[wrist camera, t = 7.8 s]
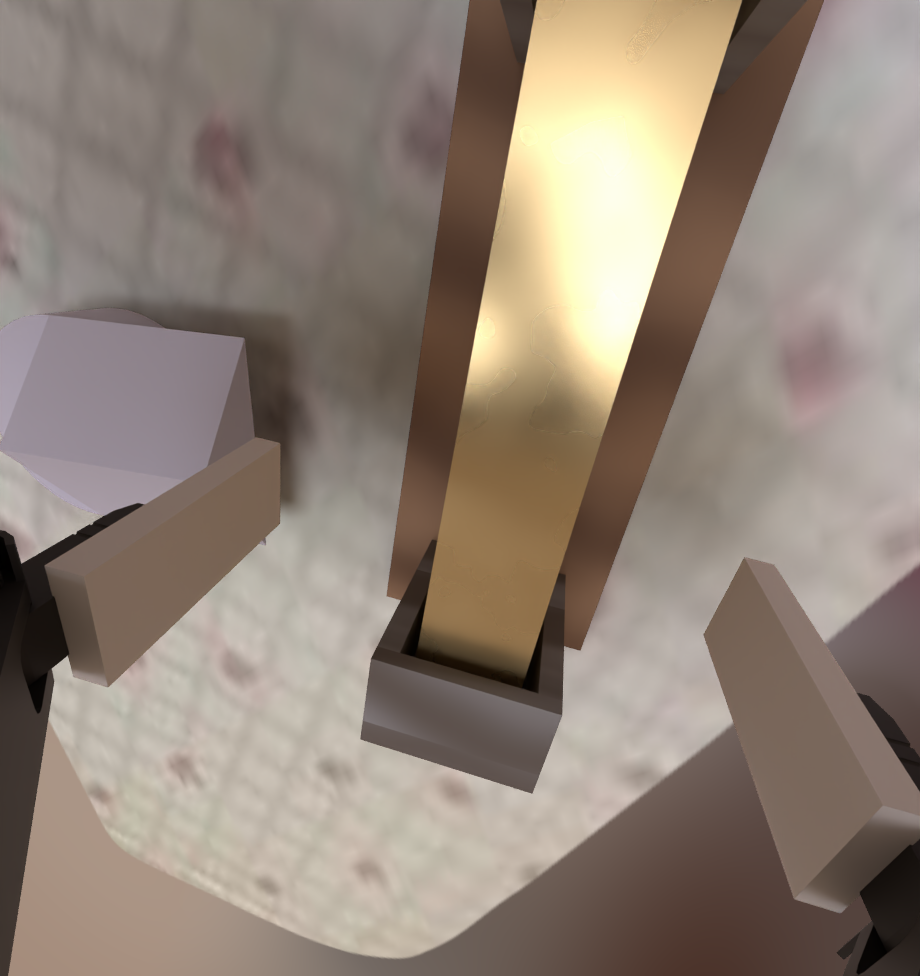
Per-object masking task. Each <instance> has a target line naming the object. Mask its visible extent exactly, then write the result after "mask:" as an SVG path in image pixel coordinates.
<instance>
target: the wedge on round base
mask: <svg viewBox="0 0 920 976" xmlns="http://www.w3.org/2000/svg"><path fill="white" fill-rule="evenodd" d="M0 433H1V435H2V436H3V438H2V441H1V444H0V451H2V452H3V453H5V454H6V455H8V456H9V457H11V458H13V459H14V460H16V461H17V462H19V463H20V464H22V465H23V467H24V468H25V469H26V470H27V471H28V472H29V473H30V474H31V475H32V476H33V477H34V478H35V479H36V480H37V481H38V482H40V483H41V484H42V485H43V486H44V487H45V488H47V489H48V490H49V491H51V492H52V493H53V494H55V495H56V496H58V497H59V498H61V499H63V500H64V501H66V502H68V503H70V504H72V505H74V506H76V507H78V508H80V509H83V510H86V511H88V512H92V513H96V514H100V515H107V514H108V513H110V512H112V511H114V510H117V509H120V508H123V507H127V506H130V505H133V504H136V503H141V504H147V503H148V502H150V501H152V500H153V499H155V498H156V497H158V496H160V495H161V494H163V493H165V492H166V491H168V490H170V489H171V488H173V487H175V486H176V485H178V484H180V483H181V482H183V481H184V480H186V479H188V478H189V477H191V476H193V475H194V474H196V473H198V472H199V471H201V470H203V469H204V468H206V467H208V466H209V465H211V464H212V463H214V462H216V461H217V460H219V459H221V458H222V457H224V456H226V455H227V454H229V453H231V452H232V451H234V450H236V449H237V448H239V447H240V446H242V445H244V444H245V443H247V442H249V441H250V440H252V439H254V438H255V433H254V423H253V414H252V404H251V394H250V385H249V375H248V365H247V356H246V346H245V338H242V337H233V336H225V335H216V334H208V333H199V332H190V331H182V330H173V329H166V328H164V327H163V326H161V325H159V324H158V323H156V322H155V321H153V320H151V319H149V318H147V317H145V316H143V315H141V314H138V313H135V312H132V311H130V310H125V309H119V308H98V309H88V310H78V311H68V312H58V313H47V314H37V315H30V316H24V317H21V318H19V319H16V320H14V321H12V322H10V323H9V324H7V325H6V326H4V327H3V328H2V329H1V330H0ZM259 544H262V545H266V539H265V538H264V539H263V540H262V541H261V542H260V543H259Z"/></svg>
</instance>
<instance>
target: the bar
mask: <svg viewBox="0 0 920 976" xmlns="http://www.w3.org/2000/svg"><path fill="white" fill-rule="evenodd" d="M741 3H742V0H537V3H536V8H535V14H534V19H533V25H532V30H531V35H530V41H529V46H528V52H527V57H526V63H525V68H524V73H523V79H522V84H521V90H520V95H519V101H518V106H517V111H516V117H515V122H514V128H513V133H512V139H511V144H510V149H509V155H508V160H507V166H506V171H505V177H504V182H503V187H502V193H501V198H500V204H499V209H498V215H497V220H496V225H495V231H494V236H493V242H492V247H491V253H490V258H489V263H488V269H487V274H486V280H485V285H484V291H483V296H482V301H481V307H480V312H479V318H478V323H477V329H476V334H475V339H474V345H473V350H472V356H471V361H470V367H469V372H468V377H467V383H466V388H465V394H464V399H463V405H462V410H461V415H460V421H459V426H458V432H457V437H456V443H455V448H454V453H453V459H452V464H451V470H450V475H449V481H448V486H447V491H446V497H445V502H444V508H443V513H442V519H441V524H440V529H439V535H438V540H437V546H436V551H435V557H434V562H433V567H432V573H431V578H430V584H429V589H428V595H427V600H426V605H425V611H424V616H423V622H422V627H421V632H420V638H419V643H418V649H417V654H416V658H419V659H422V660H426V661H429V662H433V663H436V664H439V665H443V666H446V667H450V668H453V669H456V670H460V671H463V672H467V673H470V674H473V675H477V676H480V677H484V678H487V679H490V680H494V681H497V682H501V683H504V684H508V685H511V686H514V687H518V688H521V689H522V686H523V683H524V680H525V676H526V673H527V670H528V667H529V664H530V661H531V658H532V655H533V651H534V648H535V645H536V642H537V639H538V636H539V633H540V630H541V627H542V623H543V620H544V617H545V614H546V611H547V608H548V605H549V602H550V598H551V595H552V592H553V589H554V586H555V583H556V580H557V577H558V573H559V570H560V567H561V564H562V561H563V558H564V555H565V552H566V549H567V545H568V542H569V539H570V536H571V533H572V530H573V527H574V524H575V520H576V517H577V514H578V511H579V508H580V505H581V502H582V499H583V495H584V492H585V489H586V486H587V483H588V480H589V477H590V474H591V471H592V467H593V464H594V461H595V458H596V455H597V452H598V449H599V446H600V442H601V439H602V436H603V433H604V430H605V427H606V424H607V421H608V417H609V414H610V411H611V408H612V405H613V402H614V399H615V396H616V393H617V389H618V386H619V383H620V380H621V377H622V374H623V371H624V368H625V364H626V361H627V358H628V355H629V352H630V349H631V346H632V343H633V339H634V336H635V333H636V330H637V327H638V324H639V321H640V318H641V315H642V311H643V308H644V305H645V302H646V299H647V296H648V293H649V290H650V286H651V283H652V280H653V277H654V274H655V271H656V268H657V265H658V262H659V258H660V255H661V252H662V249H663V246H664V243H665V240H666V237H667V233H668V230H669V227H670V224H671V221H672V218H673V215H674V212H675V208H676V205H677V202H678V199H679V196H680V193H681V190H682V187H683V184H684V180H685V177H686V174H687V171H688V168H689V165H690V162H691V159H692V155H693V152H694V149H695V146H696V143H697V140H698V137H699V134H700V130H701V127H702V124H703V121H704V118H705V115H706V112H707V109H708V106H709V102H710V99H711V96H712V93H713V90H714V87H715V84H716V81H717V77H718V74H719V71H720V68H721V65H722V62H723V59H724V56H725V52H726V49H727V46H728V43H729V40H730V37H731V34H732V31H733V28H734V24H735V21H736V18H737V15H738V12H739V9H740V6H741Z"/></svg>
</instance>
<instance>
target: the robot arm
mask: <svg viewBox="0 0 920 976" xmlns="http://www.w3.org/2000/svg"><path fill="white" fill-rule="evenodd" d="M280 444H281V443H278V442H274V441H270V440H266V439H262V438H258V437H255V438H254V439H252V440H250V441H249V442H247V443H245V444H244V445H242V446H240V447H239V448H237V449H236V450H234V451H232V452H231V453H229V454H227V455H226V456H224V457H222V458H221V459H219V460H217V461H216V462H214V463H212V464H211V465H209V466H208V467H206V468H204V469H203V470H201V471H199V472H198V473H196V474H194V475H193V476H191V477H189V478H188V479H186V480H184V481H183V482H181V483H180V484H178V485H176V486H175V487H173V488H171V489H170V490H168V491H166V492H165V493H163V494H161V495H160V496H158V497H156V498H155V499H153V500H152V501H150V502H148V503H147V504H141V503H136V504H133V505H130V506H127V507H123V508H120V509H117V510H114V511H112V512H110V513H108V514H107V515H105V516H103V517H102V518H100V519H98V520H96V521H95V522H93V525H90V524H89V525H88V526H86V527H84V528H83V529H81V530H79V531H77V534H76V535H74V534H72V535H70V536H69V537H67V538H65V539H64V540H62V541H60V542H58V543H57V544H55V545H53V546H51V547H50V548H48V549H46V550H44V551H43V552H41V553H39V554H38V555H36V556H34V557H32V558H31V559H29V560H27V561H25V562H24V563H22V564H21V561H20V558H19V554H18V551H17V547H16V544H15V540H14V537H13V536H12V535H10V534H9V533H7V532H6V531H2V530H0V976H8V973H9V966H10V960H11V953H12V947H13V941H14V940H13V939H14V934H15V928H16V922H17V915H18V909H19V902H20V896H21V890H22V883H23V877H24V871H25V864H26V857H27V851H28V845H29V838H30V832H31V826H32V820H33V813H34V807H35V800H36V794H37V787H38V781H39V774H40V769H41V762H42V756H43V749H44V743H45V737H46V730H47V723H48V717H49V711H50V705H51V698H52V692H53V686H54V678H53V673H52V668H53V667H54V666H55V665H57V664H58V663H59V662H60V661H62V660H63V659H64V658H65V657H66V656H68V658H69V661H70V665H71V669H72V673H73V677H76V678H79V679H82V680H85V681H89V682H92V683H95V684H98V685H102V686H105V687H109V686H110V685H111V684H112V683H113V682H114V681H115V680H116V679H118V678H119V677H120V676H121V675H122V674H123V673H124V672H125V671H126V670H127V669H128V668H129V667H130V666H131V665H132V664H133V663H134V662H135V661H136V660H137V659H138V658H140V657H141V656H142V655H143V654H144V653H145V652H146V651H147V650H148V649H149V648H150V647H151V646H152V645H153V644H154V643H155V642H156V641H157V640H158V639H159V638H160V637H162V636H163V635H164V634H165V633H166V632H167V631H168V630H169V629H170V628H171V627H172V626H173V625H174V624H175V623H176V622H177V621H178V620H179V619H180V618H181V617H182V616H184V615H185V614H186V613H187V612H188V611H189V610H190V609H191V608H192V607H193V606H194V605H195V604H196V603H197V602H198V601H199V600H200V599H201V598H202V597H203V596H204V595H206V594H207V593H208V592H209V591H210V590H211V589H212V588H213V587H214V586H215V585H216V584H217V583H218V582H219V581H220V580H221V579H222V578H223V577H224V576H225V575H226V574H228V573H229V572H230V571H231V570H232V569H233V568H234V567H235V566H236V565H237V564H238V563H239V562H240V561H241V560H242V559H243V558H244V557H245V556H246V555H247V554H248V553H250V552H251V551H252V550H253V549H254V548H255V547H256V546H257V545H258V544H259V543H260V542H261V541H262V540H263V539H264V538H265V537H266V536H267V535H268V534H269V533H270V532H272V531H273V530H274V529H275V528H276V527H277V526H278V525H279V524H280ZM704 638H705V641H706V643H707V646H708V649H709V652H710V655H711V658H712V661H713V664H714V667H715V670H716V673H717V676H718V678H719V681H720V684H721V687H722V690H723V693H724V696H725V699H726V702H727V705H728V708H729V710H730V713H731V716H732V719H733V722H734V725H735V728H736V731H737V734H738V737H739V740H740V743H741V745H742V748H743V751H744V754H745V757H746V760H747V763H748V766H749V769H750V772H751V774H752V777H753V780H754V783H755V786H756V789H757V792H758V795H759V798H760V801H761V804H762V807H763V810H764V812H765V815H766V818H767V821H768V824H769V827H770V830H771V833H772V836H773V838H774V842H775V844H776V847H777V850H778V853H779V856H780V859H781V862H782V865H783V868H784V871H785V873H786V876H787V879H788V882H789V885H790V888H791V891H792V894H793V897H794V899H796V900H799V901H802V902H806V903H809V904H812V905H815V906H819V907H822V908H825V909H828V910H831V911H835V912H838V913H841V912H843V911H844V909H846V908H847V907H848V906H849V905H850V904H851V903H852V902H853V901H854V900H855V899H856V898H857V897H858V896H860V895H861V897H862V899H863V902H864V904H865V906H866V908H867V911H868V913H869V915H870V917H871V920H872V921H871V922H870V923H869V924H868V925H867V926H865V927H864V928H863V929H862V930H861V931H860V932H859V933H857V934H856V935H855V936H854V937H853V938H852V939H851V940H850V941H849V942H847V943H846V944H845V945H844V946H843V947H842V948H841V949H840V950H839V951H838V952H837V954H838V955H840V957H842V958H843V959H845V958H846V957H848V956H849V955H850V954H851V953H852V955H851V957H850V959H849V962H848V964H847V967H846V969H845V972H844V974H843V976H920V757H919V756H918V754H917V753H916V752H915V750H914V749H913V748H910V743H909V741H908V740H907V738H906V737H905V735H904V734H903V732H902V731H901V730H900V728H899V727H898V725H897V724H896V722H895V721H894V719H893V718H892V717H890V716H889V715H888V714H887V713H886V712H885V711H884V710H883V709H882V708H881V707H880V706H879V705H878V704H877V703H876V702H875V701H874V700H873V699H872V698H871V697H870V696H867V695H863V694H860V693H856V692H855V690H854V688H853V687H852V685H851V684H850V682H849V681H848V679H847V678H846V676H845V674H844V673H843V671H842V670H841V668H840V667H839V665H838V664H837V662H836V660H835V659H834V657H833V656H832V654H831V653H830V651H829V649H828V648H827V646H826V645H825V643H824V642H823V640H822V638H821V637H820V635H819V634H818V632H817V631H816V629H815V628H814V626H813V624H812V623H811V621H810V620H809V618H808V617H807V615H806V614H805V612H804V610H803V609H802V607H801V606H800V604H799V603H798V601H797V599H796V598H795V596H794V595H793V593H792V592H791V590H790V589H789V587H788V585H787V584H786V582H785V581H784V579H783V578H782V576H781V575H780V573H779V571H778V570H777V568H776V567H775V565H773V564H769V563H765V562H761V561H757V560H753V559H749V558H745V557H744V559H743V561H742V563H741V565H740V567H739V569H738V571H737V572H736V574H735V576H734V578H733V580H732V582H731V584H730V586H729V588H728V589H727V591H726V593H725V595H724V597H723V599H722V601H721V603H720V605H719V607H718V608H717V610H716V612H715V614H714V616H713V618H712V620H711V622H710V624H709V625H708V627H707V629H706V631H705V633H704Z"/></svg>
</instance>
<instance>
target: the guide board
mask: <svg viewBox="0 0 920 976" xmlns="http://www.w3.org/2000/svg"><path fill="white" fill-rule="evenodd" d="M823 2H824V0H742V3H741V6H740V9H739V12H738V15H737V18H736V21H735V24H734V28H733V31H732V34H731V37H730V40H729V43H728V46H727V49H726V52H725V56H724V59H723V62H722V65H721V68H720V71H719V74H718V77H717V81H716V84H715V87H714V90H713V93H712V96H711V99H710V102H709V106H708V109H707V112H706V115H705V118H704V121H703V124H702V127H701V130H700V134H699V137H698V140H697V143H696V146H695V149H694V152H693V155H692V159H691V162H690V165H689V168H688V171H687V174H686V177H685V180H684V184H683V187H682V190H681V193H680V196H679V199H678V202H677V205H676V208H675V212H674V215H673V218H672V221H671V224H670V227H669V230H668V233H667V237H666V240H665V243H664V246H663V249H662V252H661V255H660V258H659V262H658V265H657V268H656V271H655V274H654V277H653V280H652V283H651V286H650V290H649V293H648V296H647V299H646V302H645V305H644V308H643V311H642V315H641V318H640V321H639V324H638V327H637V330H636V333H635V336H634V339H633V343H632V346H631V349H630V352H629V355H628V358H627V361H626V364H625V368H624V371H623V374H622V377H621V380H620V383H619V386H618V389H617V393H616V396H615V399H614V402H613V405H612V408H611V411H610V414H609V417H608V421H607V424H606V427H605V430H604V433H603V436H602V439H601V442H600V446H599V449H598V452H597V455H596V458H595V461H594V464H593V467H592V471H591V474H590V477H589V480H588V483H587V486H586V489H585V492H584V495H583V499H582V502H581V505H580V508H579V511H578V514H577V517H576V520H575V524H574V527H573V530H572V533H571V536H570V539H569V542H568V545H567V549H566V552H565V555H564V558H563V561H562V564H561V567H560V570H559V573H558V577H557V580H556V583H555V586H554V589H553V592H552V595H551V598H550V602H549V605H548V608H547V611H546V614H545V617H544V620H543V623H542V627H541V630H540V633H539V636H538V639H537V642H536V645H535V648H534V651H533V655H532V658H531V661H530V664H529V667H528V670H527V673H526V676H525V680H524V683H523V686H522V689H521V688H518V687H514V686H511V685H508V684H504V683H501V682H497V681H494V680H490V679H487V678H484V677H480V676H477V675H473V674H470V673H467V672H463V671H460V670H456V669H453V668H450V667H446V666H443V665H439V664H436V663H433V662H429V661H426V660H422V659H419V658H416V654H417V649H418V643H419V638H420V632H421V627H422V622H423V616H424V611H425V605H426V600H427V595H428V589H429V584H430V578H431V573H432V567H433V562H434V557H435V551H436V546H437V540H438V535H439V529H440V524H441V519H442V513H443V508H444V502H445V497H446V491H447V486H448V481H449V475H450V470H451V464H452V459H453V453H454V448H455V443H456V437H457V432H458V426H459V421H460V415H461V410H462V405H463V399H464V394H465V388H466V383H467V377H468V372H469V367H470V361H471V356H472V350H473V345H474V339H475V334H476V329H477V323H478V318H479V312H480V307H481V301H482V296H483V291H484V285H485V280H486V274H487V269H488V263H489V258H490V253H491V247H492V242H493V236H494V231H495V225H496V220H497V215H498V209H499V204H500V198H501V193H502V187H503V182H504V177H505V171H506V166H507V160H508V155H509V149H510V144H511V139H512V133H513V128H514V122H515V117H516V111H517V106H518V101H519V95H520V90H521V84H522V79H523V73H524V68H525V63H526V57H527V52H528V46H529V41H530V35H531V30H532V25H533V19H534V14H535V8H536V3H537V0H470V2H469V9H468V16H467V24H466V31H465V38H464V45H463V52H462V59H461V67H460V74H459V81H458V88H457V95H456V102H455V110H454V117H453V124H452V131H451V138H450V145H449V153H448V160H447V167H446V174H445V181H444V188H443V196H442V203H441V210H440V217H439V224H438V231H437V238H436V246H435V253H434V260H433V267H432V274H431V281H430V289H429V296H428V303H427V310H426V317H425V324H424V332H423V339H422V346H421V353H420V360H419V367H418V375H417V382H416V389H415V396H414V403H413V410H412V418H411V425H410V432H409V439H408V446H407V453H406V461H405V468H404V475H403V482H402V489H401V496H400V504H399V511H398V518H397V525H396V532H395V539H394V547H393V554H392V561H391V568H390V575H389V582H388V590H387V596H388V597H392V598H395V599H399V600H401V601H400V603H399V605H398V607H397V609H396V611H395V613H394V615H393V617H392V619H391V621H390V623H389V625H388V626H387V628H386V630H385V632H384V634H383V636H382V638H381V640H380V642H379V644H378V646H377V648H376V650H375V652H374V654H373V656H372V658H371V663H370V670H369V678H368V686H367V693H366V701H365V708H364V716H363V724H362V731H361V740H364V741H367V742H371V743H374V744H377V745H380V746H383V747H386V748H389V749H393V750H396V751H399V752H402V753H405V754H408V755H412V756H415V757H418V758H421V759H424V760H427V761H431V762H434V763H437V764H440V765H443V766H446V767H450V768H453V769H456V770H459V771H462V772H465V773H469V774H472V775H475V776H478V777H481V778H484V779H488V780H491V781H494V782H497V783H500V784H503V785H507V786H510V787H513V788H516V789H519V790H522V791H526V792H529V793H533V790H534V788H535V785H536V783H537V780H538V777H539V775H540V772H541V769H542V767H543V764H544V762H545V759H546V756H547V754H548V751H549V749H550V746H551V743H552V741H553V738H554V735H555V733H556V730H557V728H558V725H559V722H560V720H561V717H562V703H563V663H564V646H566V647H569V648H573V649H577V650H581V647H582V645H583V642H584V639H585V637H586V634H587V631H588V629H589V626H590V623H591V621H592V618H593V615H594V613H595V610H596V607H597V605H598V602H599V599H600V597H601V594H602V591H603V589H604V586H605V583H606V581H607V578H608V575H609V573H610V570H611V567H612V565H613V562H614V559H615V557H616V554H617V551H618V549H619V546H620V543H621V541H622V538H623V535H624V533H625V530H626V527H627V525H628V522H629V519H630V517H631V514H632V511H633V509H634V506H635V503H636V501H637V498H638V495H639V493H640V490H641V487H642V485H643V482H644V479H645V477H646V474H647V471H648V469H649V466H650V463H651V461H652V458H653V455H654V453H655V450H656V447H657V445H658V442H659V439H660V437H661V434H662V431H663V429H664V426H665V423H666V421H667V418H668V415H669V413H670V410H671V407H672V405H673V402H674V399H675V397H676V394H677V391H678V389H679V386H680V383H681V381H682V378H683V375H684V373H685V370H686V367H687V365H688V362H689V359H690V357H691V354H692V351H693V349H694V346H695V343H696V341H697V338H698V335H699V333H700V330H701V327H702V325H703V322H704V319H705V317H706V314H707V311H708V309H709V306H710V303H711V301H712V298H713V295H714V293H715V290H716V287H717V285H718V282H719V279H720V277H721V274H722V271H723V269H724V266H725V263H726V261H727V258H728V255H729V253H730V250H731V247H732V245H733V242H734V239H735V237H736V234H737V231H738V229H739V226H740V223H741V221H742V218H743V215H744V213H745V210H746V207H747V205H748V202H749V199H750V197H751V194H752V191H753V189H754V186H755V183H756V180H757V178H758V175H759V172H760V170H761V167H762V164H763V162H764V159H765V156H766V154H767V151H768V148H769V146H770V143H771V140H772V138H773V135H774V132H775V130H776V127H777V124H778V122H779V119H780V116H781V114H782V111H783V108H784V106H785V103H786V100H787V98H788V95H789V92H790V90H791V87H792V84H793V82H794V79H795V76H796V74H797V71H798V68H799V66H800V63H801V60H802V58H803V55H804V52H805V50H806V47H807V44H808V42H809V39H810V36H811V34H812V31H813V28H814V26H815V23H816V20H817V18H818V15H819V12H820V10H821V7H822V4H823Z"/></svg>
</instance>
